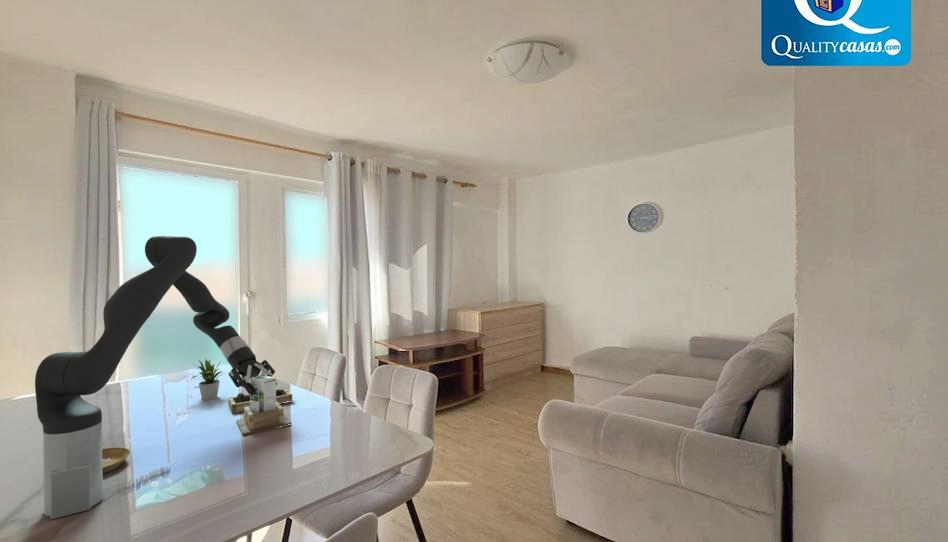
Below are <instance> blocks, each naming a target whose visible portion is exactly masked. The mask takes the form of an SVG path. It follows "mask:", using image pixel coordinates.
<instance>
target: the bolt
mask: <svg viewBox="0 0 948 542" xmlns="http://www.w3.org/2000/svg"><path fill="white" fill-rule="evenodd" d="M282 395H283V393H282V391H281V390H279V389H276V396H282ZM236 397H237V403H242V402H247V401H250V395H249V394H245V393H243V392H238V394H237V395H236Z"/></svg>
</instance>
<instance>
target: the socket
mask: <svg viewBox="0 0 948 542" xmlns="http://www.w3.org/2000/svg"><path fill="white" fill-rule="evenodd" d="M292 423H293V422H291V420H290V419H289V418H288V416H286V415H285V413H284V408H283V407H282V404H281V405H280V404H279V403H278V402H277V401H276V409H274V410H269V411H264V412H258V413H252V412H251V410H250V406H247V407H244V411H243V418H240V419H236V424H237V426H238V429H239V431H240V432H241V434H242V436H243V437H244V436H248V435H253V434H254V435H255V434H258V433H262V432H268V431H271V429H273V430H275V429H274V428H277V427H280V426H284V425H288V424H292ZM277 429H278V428H277Z"/></svg>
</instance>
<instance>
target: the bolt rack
mask: <svg viewBox="0 0 948 542" xmlns="http://www.w3.org/2000/svg"><path fill="white" fill-rule="evenodd" d="M278 390H281V391H282V393H283V395H282V396H276V401H277V402H278V403H282V402H286V401H292V402H293V394H292V392H290V391H289V390H288V389H287V388H281V389H280V388H279V389H278ZM248 395H250V394H249V393H248ZM227 401H228V404H227V405H228V408H229V410H230V412H231V414H232V415H233V414H237V413H242V412H243V413H244V407H247V406H250V401H247V402H242V403H237V396H231V397H228V400H227Z"/></svg>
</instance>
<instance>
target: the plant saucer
mask: <svg viewBox="0 0 948 542" xmlns="http://www.w3.org/2000/svg"><path fill="white" fill-rule="evenodd" d="M130 454H131V450H130V449H129V448H126V447H106V448H102V459H105V461H106V459H108V458H110V459H111V461H112V462H110V461H109V462H107V461H106V462H104V461H103V463H102V467H103V473H104V474H105V473H108V472H111V471H113V470H115V469H116V468H118V467H119V466H120V465H122V464H123V463H124V461H125V460H126V459H127V458H128V457H129V455H130Z"/></svg>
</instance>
